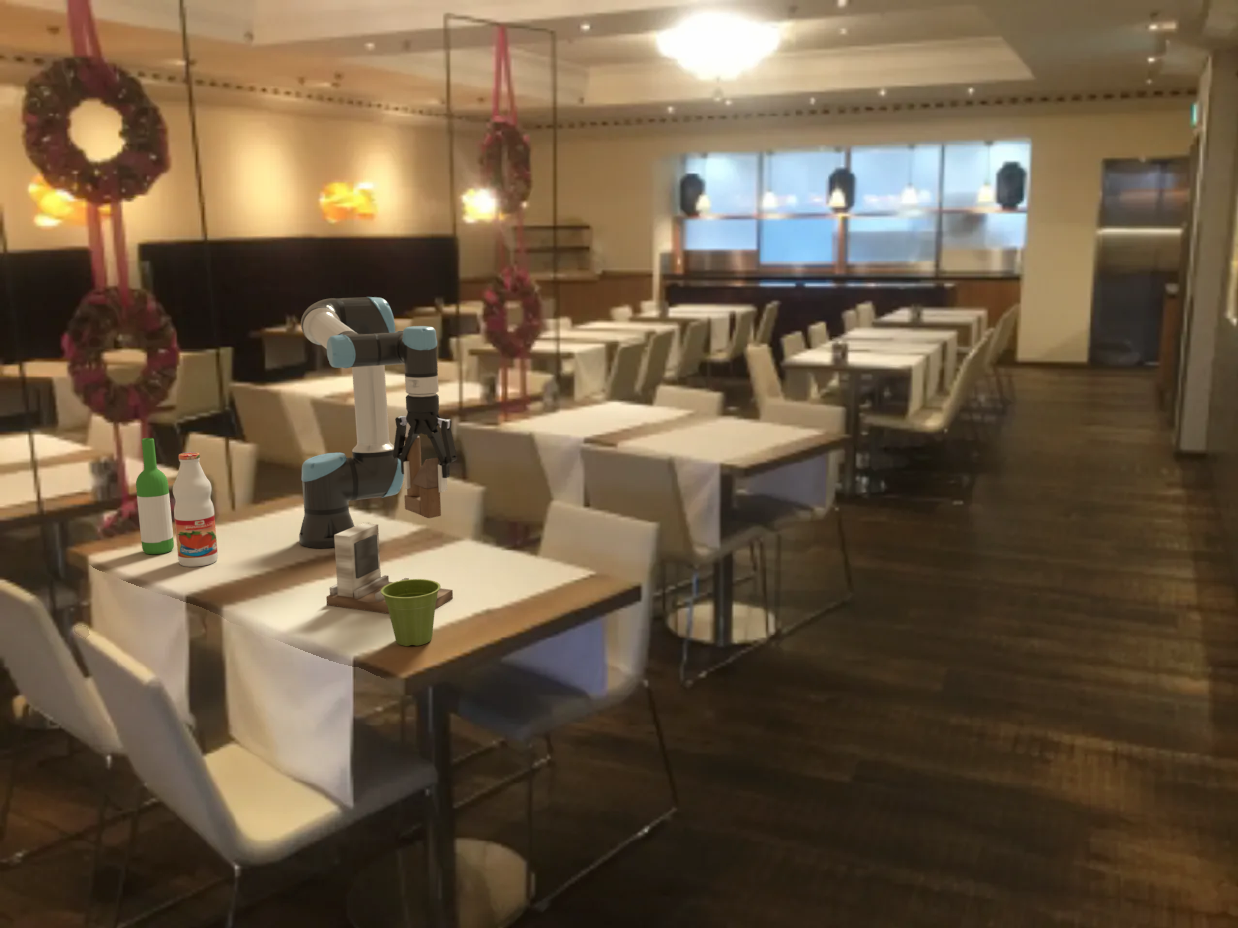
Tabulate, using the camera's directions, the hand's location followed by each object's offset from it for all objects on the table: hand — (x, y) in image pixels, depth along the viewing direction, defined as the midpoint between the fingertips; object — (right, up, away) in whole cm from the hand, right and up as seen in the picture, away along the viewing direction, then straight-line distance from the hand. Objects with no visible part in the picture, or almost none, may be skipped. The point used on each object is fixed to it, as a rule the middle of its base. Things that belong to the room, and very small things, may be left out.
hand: (426, 489), depth 256 cm
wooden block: (-1, -6, +2) cm, 6 cm away
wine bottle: (-76, -17, +30) cm, 83 cm away
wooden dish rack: (-6, -25, -11) cm, 28 cm away
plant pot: (+4, -30, -35) cm, 46 cm away
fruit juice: (-61, -19, +20) cm, 67 cm away
